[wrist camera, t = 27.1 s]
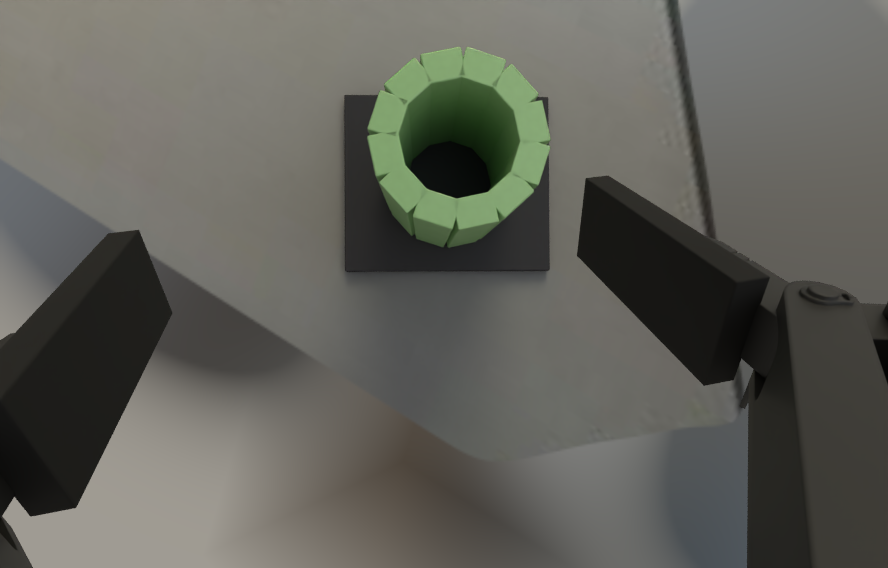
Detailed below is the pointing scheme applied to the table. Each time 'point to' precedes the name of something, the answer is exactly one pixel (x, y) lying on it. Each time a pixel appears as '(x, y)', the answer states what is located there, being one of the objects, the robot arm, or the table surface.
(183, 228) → the table surface
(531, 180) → the green tube
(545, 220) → the rubber mat
